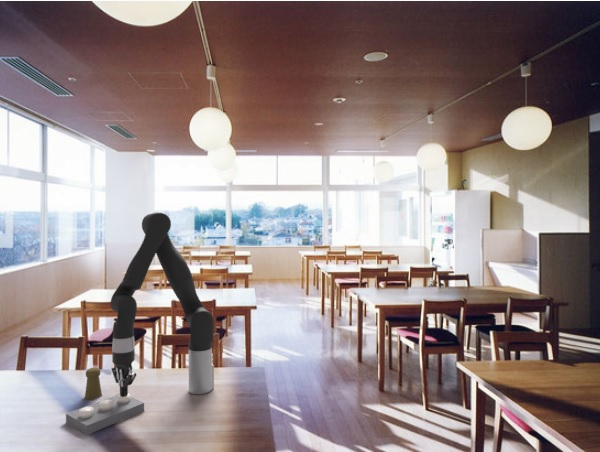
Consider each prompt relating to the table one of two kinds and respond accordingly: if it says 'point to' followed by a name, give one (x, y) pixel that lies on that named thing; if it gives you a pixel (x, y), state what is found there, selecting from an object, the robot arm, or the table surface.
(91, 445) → the table surface
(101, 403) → the knob middle
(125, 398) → the knob
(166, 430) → the table surface
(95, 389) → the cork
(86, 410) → the knob
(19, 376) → the table surface
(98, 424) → the control board
